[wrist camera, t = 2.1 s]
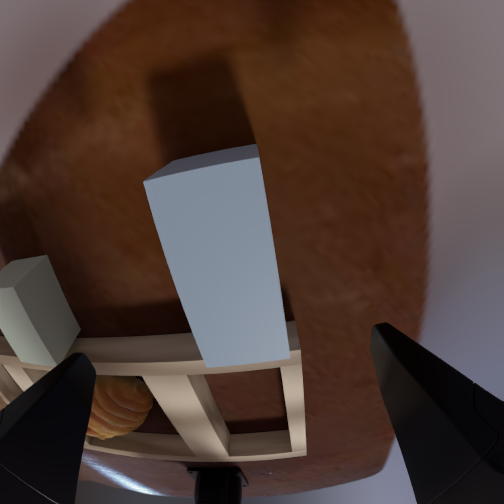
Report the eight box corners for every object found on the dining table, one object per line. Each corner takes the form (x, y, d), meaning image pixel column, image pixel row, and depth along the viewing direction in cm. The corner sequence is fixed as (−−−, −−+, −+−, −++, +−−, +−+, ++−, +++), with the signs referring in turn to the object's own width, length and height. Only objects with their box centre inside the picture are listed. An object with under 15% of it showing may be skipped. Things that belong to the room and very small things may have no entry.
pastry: (108, 347, 19) (90, 385, 16) (177, 395, 22) (170, 434, 18) (66, 385, 22) (51, 415, 19) (122, 422, 24) (113, 453, 21)
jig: (303, 433, 24) (306, 455, 22) (43, 420, 26) (37, 435, 24) (295, 320, 18) (300, 349, 15) (-24, 334, 20) (-35, 349, 17)
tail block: (81, 328, 18) (58, 367, 15) (44, 327, 19) (21, 362, 15) (48, 253, 16) (13, 287, 12) (12, 260, 16) (-21, 289, 12)
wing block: (282, 302, 17) (290, 358, 13) (215, 311, 18) (206, 367, 14) (256, 143, 13) (259, 157, 9) (174, 159, 14) (143, 181, 10)
